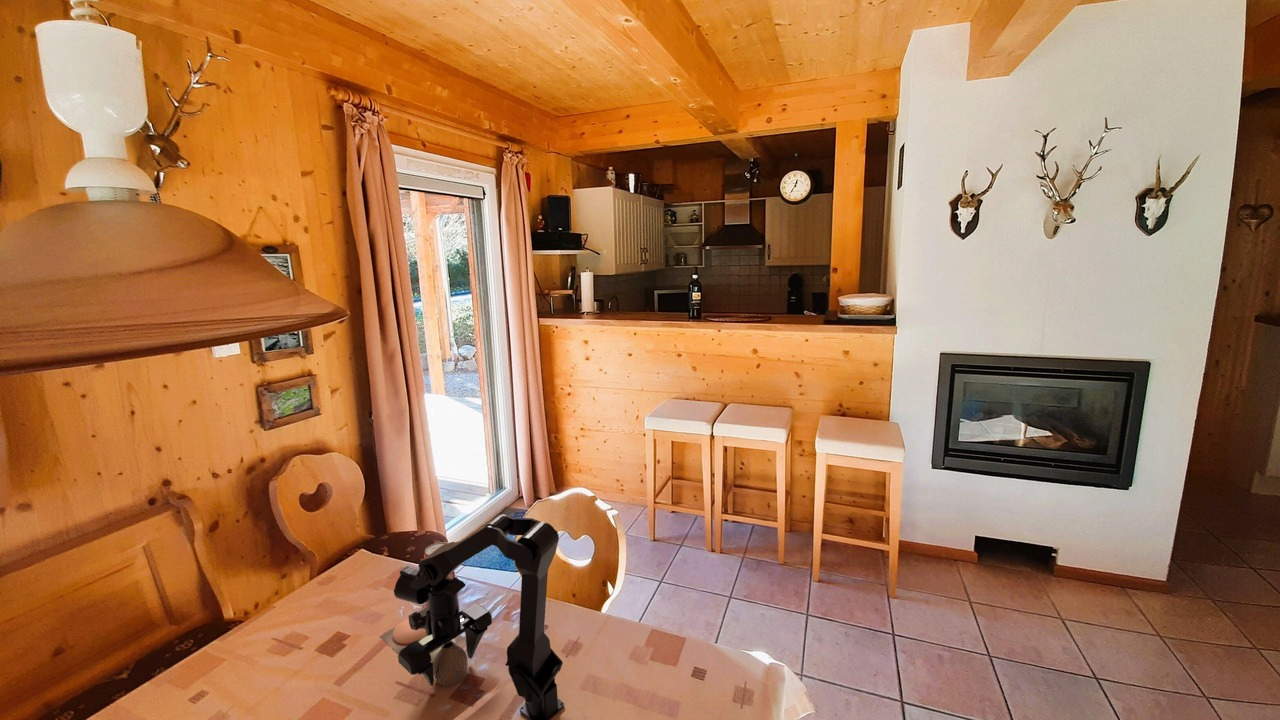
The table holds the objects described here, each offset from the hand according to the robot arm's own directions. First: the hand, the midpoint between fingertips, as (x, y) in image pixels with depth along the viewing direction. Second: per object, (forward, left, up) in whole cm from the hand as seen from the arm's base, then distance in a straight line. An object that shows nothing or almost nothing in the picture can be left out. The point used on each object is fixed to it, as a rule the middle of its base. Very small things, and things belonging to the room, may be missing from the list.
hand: (451, 670), depth 111 cm
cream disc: (+10, -2, -1) cm, 10 cm away
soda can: (+29, -15, -2) cm, 33 cm away
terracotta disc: (+20, -2, -1) cm, 20 cm away
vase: (0, 0, -2) cm, 2 cm away
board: (+15, -2, -2) cm, 15 cm away
